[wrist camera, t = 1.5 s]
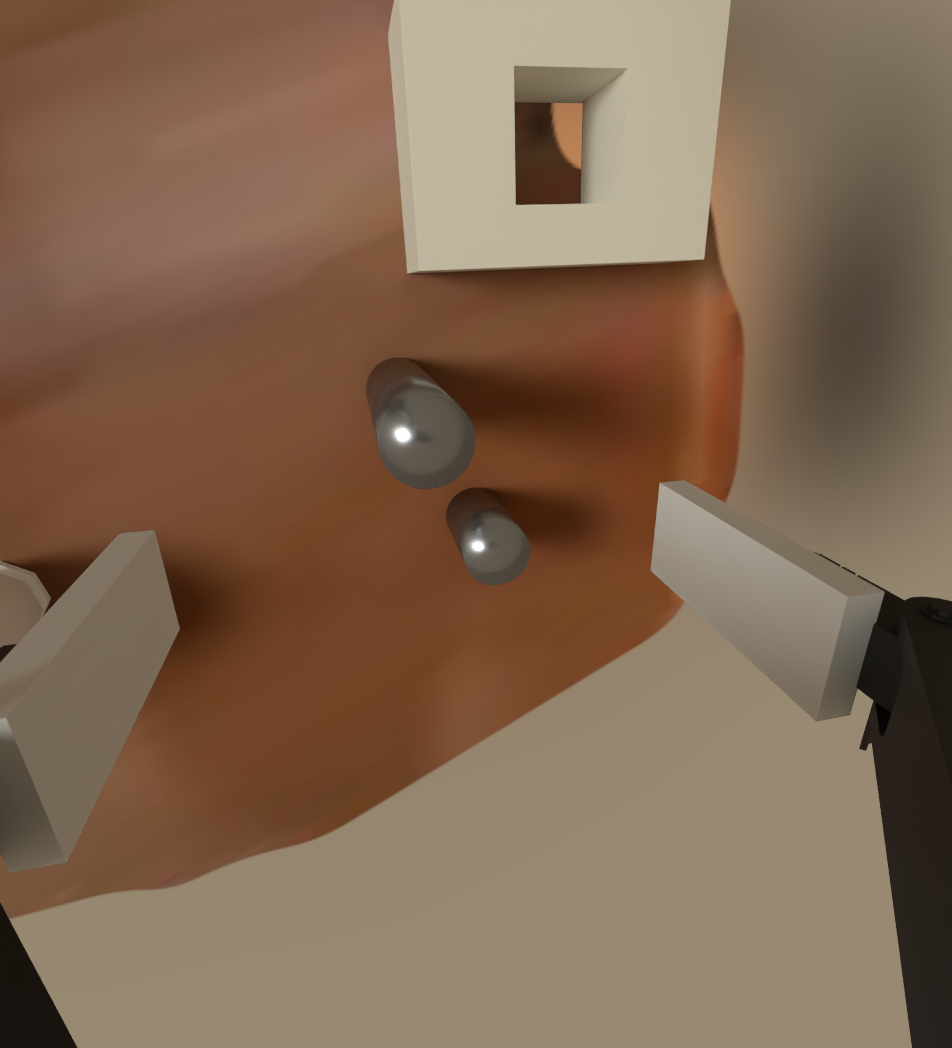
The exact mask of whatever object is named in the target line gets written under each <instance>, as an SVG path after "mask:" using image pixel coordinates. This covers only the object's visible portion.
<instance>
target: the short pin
mask: <svg viewBox="0 0 952 1048" xmlns="http://www.w3.org/2000/svg"><path fill="white" fill-rule="evenodd" d="M446 520H447V524H448V527H449V529H450V531H451V533H452V536H453V538H454V540H455V542H456V544H457V547H458V549H459V551H460V553H461V556H462V558H463V560H464V562H465V565H466V567H467V569H468V571H469V573H470V574H471V575H472V576H473V577H474V578H475V579H476V580H478V581H479V582H482V583H485V584H489V585H499V584H504V583H507V582H509V581H511V580H513V579H515V578H516V577H517V576H519V575H520V574H521V573H522V571H523V570H524V569H525V567H526V566H527V564H528V561H529V558H530V551H531V550H530V543H529V541H528V538H527V537H526V535H525V534H524V532H523V531H522V530H521V528H520V527H519V526H518V524H517V523H516V522H515V520H514V519H513V518H512V516H511V515H510V514H509V512H508V511H507V510H506V508H505V507H504V506H503V504H502V503H501V502H500V500H499V499H498V498H497V496H496V495H495V494H494V493H492V492H491V491H489V490H487V489H484V488H469V489H466V490H464V491H462V492H460V493H459V494H457V495H456V496H455V497H454V498H453V499H452V501H451V502H450V504H449V506H448V509H447V513H446Z"/></svg>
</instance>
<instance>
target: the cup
mask: <svg viewBox="0 0 952 1048" xmlns="http://www.w3.org/2000/svg"><path fill="white" fill-rule="evenodd" d="M50 600H51V597H50V595H49V594H48V592H47V591H46V589H45V588H44V586H43V584H42V583H41V581H40V580H39V578H38V577H37V575H36V574H35V573H34V572H31V571H28V570H25V569H23V568H20V567H17V566H14V565H11V564H8V563H5V562H2V561H0V648H1V647H2V646H4V645H11V644H18V643H19V642H20V640H21V639H22V638H23V637H24V636H25V635H26V634H27V633H28V632H29V631H30V630H31V629H32V628H33V626H34V625H35V624H36V623H37V622H38V621H39V620H40V619H41V618H42V617H43V616H44V614H45V611H46V609H47V607H48V604H49V602H50Z"/></svg>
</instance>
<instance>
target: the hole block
mask: <svg viewBox="0 0 952 1048" xmlns="http://www.w3.org/2000/svg"><path fill="white" fill-rule="evenodd" d="M730 2H731V0H394V4H393V10H392V15H391V21H390V26H389V32H388V40H389V53H390V65H391V78H392V90H393V102H394V115H395V127H396V139H397V152H398V164H399V177H400V189H401V201H402V214H403V226H404V239H405V251H406V263H407V274H411V273H435V272H459V271H484V270H508V269H532V268H556V267H580V266H605V265H629V264H653V263H666V262H678V261H691V260H703V259H704V256H705V246H706V236H707V226H708V217H709V207H710V197H711V187H712V177H713V167H714V158H715V148H716V138H717V129H718V119H719V109H720V100H721V90H722V80H723V70H724V60H725V50H726V40H727V31H728V21H729V12H730ZM514 102H540V103H583V122H582V123H583V125H582V161H581V200H580V204H544V205H516V190H515V113H514Z"/></svg>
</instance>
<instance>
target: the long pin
mask: <svg viewBox="0 0 952 1048" xmlns="http://www.w3.org/2000/svg"><path fill="white" fill-rule="evenodd" d="M366 394H367V399H368V403H369V407H370V412H371V416H372V420H373V425H374V429H375V433H376V438H377V442H378V446H379V450H380V455H381V458H382V460H383V463H384V465H385V466H386V468H387V469H388V471H389V472H390V473H391V474H392V475H393V476H394V477H395V478H396V479H397V480H399V481H400V482H402V483H404V484H406V485H408V486H410V487H413V488H418V489H434V488H439V487H442V486H445V485H447V484H449V483H451V482H452V481H454V480H455V479H457V478H458V477H459V476H460V475H461V474H462V473H463V472H464V471H465V469H466V468H467V467H468V465H469V463H470V461H471V459H472V457H473V453H474V449H475V432H474V428H473V425H472V423H471V420H470V418H469V417H468V415H467V414H466V412H465V411H464V410H463V409H462V408H461V407H460V406H459V405H458V404H457V403H456V402H455V401H454V400H453V399H452V398H451V397H450V396H449V395H448V394H447V393H446V392H445V391H444V390H443V389H442V388H441V387H440V386H439V385H438V384H437V383H436V382H435V381H434V380H433V379H432V378H431V377H430V376H429V375H428V374H427V373H426V372H425V371H424V370H423V369H422V368H421V367H420V366H419V365H418V364H416V363H415V362H413V361H411V360H408V359H405V358H391V359H388V360H385V361H383V362H381V363H380V364H379V365H377V366H376V367H375V368H374V369H373V371H372V372H371V374H370V376H369V378H368V381H367V386H366Z"/></svg>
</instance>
